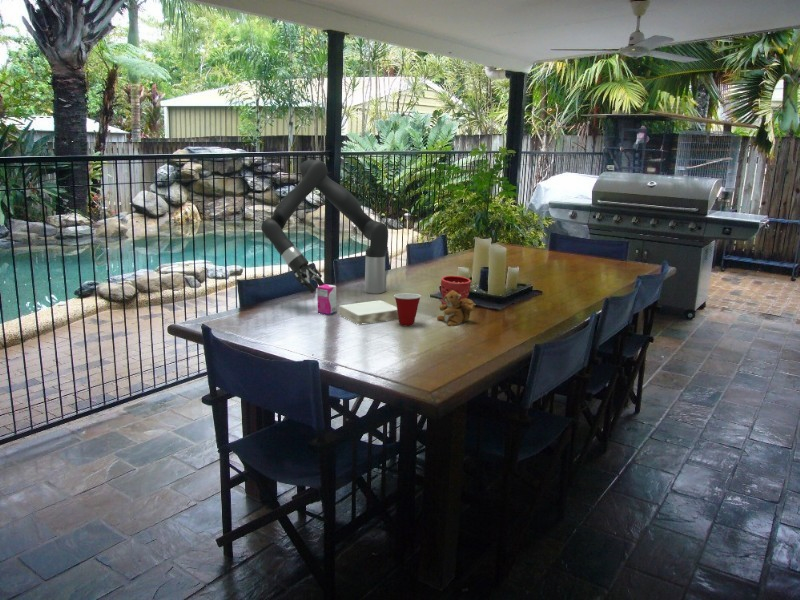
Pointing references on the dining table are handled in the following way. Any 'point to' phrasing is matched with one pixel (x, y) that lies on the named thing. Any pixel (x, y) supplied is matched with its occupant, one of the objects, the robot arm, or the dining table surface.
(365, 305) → the slab
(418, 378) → the dining table surface
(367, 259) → the robot arm
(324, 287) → the supplement box
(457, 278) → the plant pot
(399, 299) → the plastic cup
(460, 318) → the stuffed squirrel
